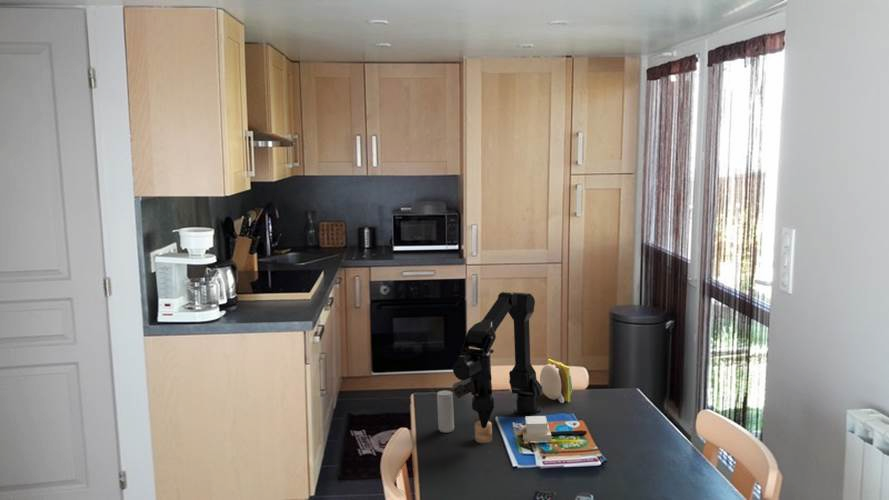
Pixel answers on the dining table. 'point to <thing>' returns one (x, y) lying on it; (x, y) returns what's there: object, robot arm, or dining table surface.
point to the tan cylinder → (483, 433)
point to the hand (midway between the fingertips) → (483, 422)
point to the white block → (536, 424)
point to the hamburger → (556, 381)
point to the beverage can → (445, 411)
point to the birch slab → (536, 436)
